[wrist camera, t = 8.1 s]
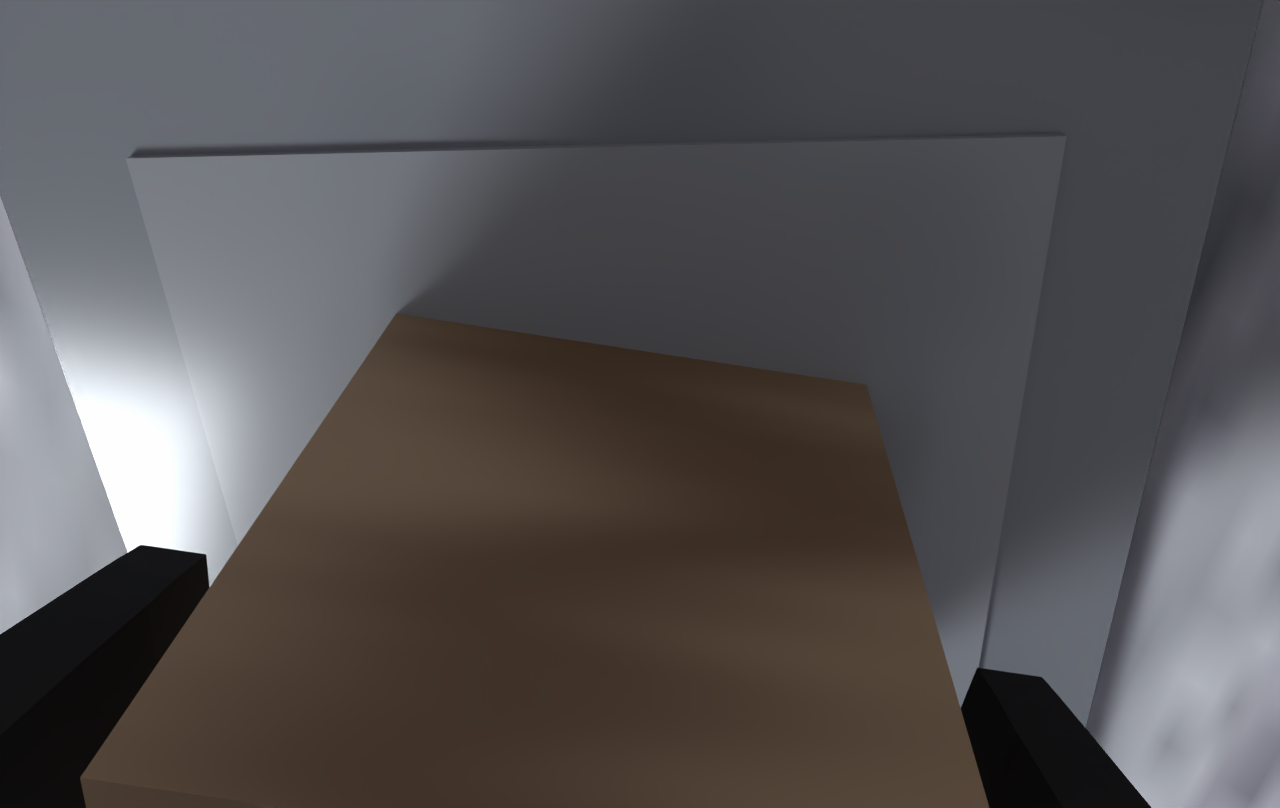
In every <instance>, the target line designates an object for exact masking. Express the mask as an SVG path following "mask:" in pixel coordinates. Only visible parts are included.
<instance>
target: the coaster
mask: <svg viewBox="0 0 1280 808" xmlns="http://www.w3.org/2000/svg"><path fill="white" fill-rule="evenodd" d="M1262 4H1263V0H0V196H1V199H2V202H3V204H4V207H5V210H6V213H7V216H8V218H9V221H10V224H11V227H12V230H13V232H14V235H15V238H16V241H17V244H18V246H19V249H20V252H21V255H22V258H23V260H24V263H25V266H26V269H27V272H28V274H29V277H30V280H31V283H32V286H33V288H34V291H35V294H36V297H37V300H38V302H39V305H40V308H41V311H42V314H43V316H44V319H45V322H46V325H47V328H48V330H49V333H50V336H51V339H52V342H53V344H54V347H55V350H56V353H57V356H58V358H59V361H60V364H61V367H62V370H63V372H64V375H65V378H66V381H67V384H68V386H69V389H70V392H71V395H72V398H73V400H74V403H75V406H76V409H77V412H78V414H79V417H80V420H81V423H82V426H83V428H84V431H85V434H86V437H87V440H88V442H89V445H90V448H91V451H92V454H93V456H94V459H95V462H96V465H97V468H98V470H99V473H100V476H101V479H102V482H103V484H104V487H105V490H106V493H107V496H108V498H109V501H110V504H111V507H112V510H113V512H114V515H115V518H116V521H117V524H118V526H119V529H120V532H121V535H122V538H123V540H124V543H125V546H126V549H127V552H130V551H131V550H133V549H135V548H136V547H138V546H140V545H146V546H153V547H160V548H167V549H174V550H180V551H187V552H194V553H201V554H206V557H207V567H208V577H209V587H210V586H211V585H212V583H213V582H214V580H215V579H216V577H217V576H218V574H219V573H220V571H221V570H222V568H223V567H224V566H225V564H226V563H227V561H228V560H229V558H230V557H231V555H232V554H233V552H234V551H235V549H236V548H237V546H238V545H239V544H240V542H241V541H242V539H243V538H244V536H245V535H246V533H247V532H248V530H249V529H250V527H251V526H252V524H253V523H254V521H255V520H256V519H257V517H258V516H259V514H260V513H261V511H262V510H263V508H264V507H265V505H266V504H267V502H268V501H269V499H270V498H271V496H272V495H273V494H274V492H275V491H276V489H277V488H278V486H279V485H280V483H281V482H282V480H283V479H284V477H285V476H286V474H287V473H288V472H289V470H290V469H291V467H292V466H293V464H294V463H295V461H296V460H297V458H298V457H299V455H300V454H301V452H302V451H303V449H304V448H305V447H306V445H307V444H308V442H309V441H310V439H311V438H312V436H313V435H314V433H315V432H316V430H317V429H318V427H319V426H320V424H321V423H322V422H323V420H324V419H325V417H326V416H327V414H328V413H329V411H330V410H331V408H332V407H333V405H334V404H335V402H336V401H337V400H338V398H339V397H340V395H341V394H342V392H343V391H344V389H345V388H346V386H347V385H348V383H349V382H350V380H351V379H352V377H353V376H354V375H355V373H356V372H357V370H358V369H359V367H360V366H361V364H362V363H363V361H364V360H365V358H366V357H367V355H368V354H369V353H370V351H371V350H372V348H373V347H374V345H375V344H376V342H377V341H378V339H379V338H380V336H381V335H382V333H383V332H384V330H385V329H386V328H387V326H388V325H389V323H390V322H391V320H392V319H393V317H394V316H395V314H402V315H409V316H415V317H422V318H428V319H435V320H442V321H448V322H455V323H461V324H468V325H475V326H481V327H488V328H494V329H501V330H508V331H514V332H521V333H527V334H534V335H541V336H547V337H554V338H560V339H567V340H574V341H580V342H587V343H593V344H600V345H607V346H613V347H620V348H626V349H633V350H640V351H646V352H653V353H660V354H666V355H673V356H679V357H686V358H693V359H699V360H706V361H712V362H719V363H726V364H732V365H739V366H745V367H752V368H759V369H765V370H772V371H778V372H785V373H792V374H798V375H805V376H811V377H818V378H825V379H831V380H838V381H844V382H851V383H858V384H864V385H867V388H868V391H869V395H870V398H871V402H872V405H873V409H874V412H875V415H876V419H877V422H878V426H879V429H880V433H881V436H882V440H883V443H884V446H885V450H886V453H887V457H888V460H889V464H890V467H891V471H892V474H893V477H894V481H895V484H896V488H897V491H898V495H899V498H900V502H901V505H902V508H903V512H904V515H905V519H906V522H907V526H908V529H909V533H910V536H911V539H912V543H913V546H914V550H915V553H916V557H917V560H918V564H919V567H920V570H921V574H922V577H923V581H924V584H925V588H926V591H927V595H928V598H929V601H930V605H931V608H932V612H933V615H934V619H935V622H936V626H937V629H938V632H939V636H940V639H941V643H942V646H943V650H944V653H945V657H946V660H947V663H948V667H949V670H950V674H951V677H952V681H953V684H954V688H955V691H956V694H957V698H958V701H959V705H960V708H961V706H962V704H963V701H964V699H965V696H966V694H967V691H968V689H969V686H970V684H971V682H972V679H973V677H974V674H975V672H976V669H977V668H984V669H991V670H998V671H1005V672H1011V673H1018V674H1025V675H1032V676H1039V677H1042V678H1043V679H1044V680H1045V681H1046V682H1047V683H1048V684H1049V685H1050V687H1051V688H1052V689H1053V690H1054V691H1055V692H1056V693H1057V695H1058V696H1059V697H1060V698H1061V699H1062V700H1063V702H1064V703H1065V704H1066V705H1067V706H1068V708H1069V709H1070V710H1071V711H1072V712H1073V714H1074V715H1075V716H1076V717H1077V718H1078V720H1079V721H1080V722H1081V723H1082V724H1083V726H1084V727H1085V728H1086V725H1087V721H1088V717H1089V712H1090V708H1091V704H1092V700H1093V696H1094V692H1095V688H1096V684H1097V680H1098V676H1099V672H1100V667H1101V663H1102V659H1103V655H1104V651H1105V647H1106V643H1107V639H1108V635H1109V631H1110V626H1111V622H1112V618H1113V614H1114V610H1115V606H1116V602H1117V598H1118V594H1119V590H1120V586H1121V581H1122V577H1123V573H1124V569H1125V565H1126V561H1127V557H1128V553H1129V549H1130V545H1131V540H1132V536H1133V532H1134V528H1135V524H1136V520H1137V516H1138V512H1139V508H1140V504H1141V500H1142V495H1143V491H1144V487H1145V483H1146V479H1147V475H1148V471H1149V467H1150V463H1151V459H1152V454H1153V450H1154V446H1155V442H1156V438H1157V434H1158V430H1159V426H1160V422H1161V418H1162V414H1163V409H1164V405H1165V401H1166V397H1167V393H1168V389H1169V385H1170V381H1171V377H1172V373H1173V368H1174V364H1175V360H1176V356H1177V352H1178V348H1179V344H1180V340H1181V336H1182V332H1183V328H1184V323H1185V319H1186V315H1187V311H1188V307H1189V303H1190V299H1191V295H1192V291H1193V287H1194V282H1195V278H1196V274H1197V270H1198V266H1199V262H1200V258H1201V254H1202V250H1203V246H1204V242H1205V237H1206V233H1207V229H1208V225H1209V221H1210V217H1211V213H1212V209H1213V205H1214V201H1215V196H1216V192H1217V188H1218V184H1219V180H1220V176H1221V172H1222V168H1223V164H1224V160H1225V155H1226V151H1227V147H1228V143H1229V139H1230V135H1231V131H1232V127H1233V123H1234V119H1235V115H1236V110H1237V106H1238V102H1239V98H1240V94H1241V90H1242V86H1243V82H1244V78H1245V74H1246V69H1247V65H1248V61H1249V57H1250V53H1251V49H1252V45H1253V41H1254V37H1255V33H1256V29H1257V24H1258V20H1259V16H1260V12H1261V8H1262Z"/></svg>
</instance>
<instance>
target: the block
mask: <svg viewBox="0 0 1280 808" xmlns="http://www.w3.org/2000/svg"><path fill="white" fill-rule="evenodd" d="M80 780H81V785H82V790H83V795H84V800H85V805H86V808H989V805H988V801H987V798H986V794H985V791H984V787H983V784H982V781H981V777H980V774H979V770H978V767H977V763H976V760H975V756H974V753H973V750H972V746H971V743H970V739H969V736H968V732H967V729H966V725H965V722H964V719H963V715H962V712H961V708H960V705H959V701H958V698H957V694H956V691H955V688H954V684H953V681H952V677H951V674H950V670H949V667H948V663H947V660H946V657H945V653H944V650H943V646H942V643H941V639H940V636H939V632H938V629H937V626H936V622H935V619H934V615H933V612H932V608H931V605H930V601H929V598H928V595H927V591H926V588H925V584H924V581H923V577H922V574H921V570H920V567H919V564H918V560H917V557H916V553H915V550H914V546H913V543H912V539H911V536H910V533H909V529H908V526H907V522H906V519H905V515H904V512H903V508H902V505H901V502H900V498H899V495H898V491H897V488H896V484H895V481H894V477H893V474H892V471H891V467H890V464H889V460H888V457H887V453H886V450H885V446H884V443H883V440H882V436H881V433H880V429H879V426H878V422H877V419H876V415H875V412H874V409H873V405H872V402H871V398H870V395H869V391H868V388H867V385H864V384H858V383H851V382H844V381H838V380H831V379H825V378H818V377H811V376H805V375H798V374H792V373H785V372H778V371H772V370H765V369H759V368H752V367H745V366H739V365H732V364H726V363H719V362H712V361H706V360H699V359H693V358H686V357H679V356H673V355H666V354H660V353H653V352H646V351H640V350H633V349H626V348H620V347H613V346H607V345H600V344H593V343H587V342H580V341H574V340H567V339H560V338H554V337H547V336H541V335H534V334H527V333H521V332H514V331H508V330H501V329H494V328H488V327H481V326H475V325H468V324H461V323H455V322H448V321H442V320H435V319H428V318H422V317H415V316H409V315H402V314H395V316H394V317H393V319H392V320H391V322H390V323H389V325H388V326H387V328H386V329H385V330H384V332H383V333H382V335H381V336H380V338H379V339H378V341H377V342H376V344H375V345H374V347H373V348H372V350H371V351H370V353H369V354H368V355H367V357H366V358H365V360H364V361H363V363H362V364H361V366H360V367H359V369H358V370H357V372H356V373H355V375H354V376H353V377H352V379H351V380H350V382H349V383H348V385H347V386H346V388H345V389H344V391H343V392H342V394H341V395H340V397H339V398H338V400H337V401H336V402H335V404H334V405H333V407H332V408H331V410H330V411H329V413H328V414H327V416H326V417H325V419H324V420H323V422H322V423H321V424H320V426H319V427H318V429H317V430H316V432H315V433H314V435H313V436H312V438H311V439H310V441H309V442H308V444H307V445H306V447H305V448H304V449H303V451H302V452H301V454H300V455H299V457H298V458H297V460H296V461H295V463H294V464H293V466H292V467H291V469H290V470H289V472H288V473H287V474H286V476H285V477H284V479H283V480H282V482H281V483H280V485H279V486H278V488H277V489H276V491H275V492H274V494H273V495H272V496H271V498H270V499H269V501H268V502H267V504H266V505H265V507H264V508H263V510H262V511H261V513H260V514H259V516H258V517H257V519H256V520H255V521H254V523H253V524H252V526H251V527H250V529H249V530H248V532H247V533H246V535H245V536H244V538H243V539H242V541H241V542H240V544H239V545H238V546H237V548H236V549H235V551H234V552H233V554H232V555H231V557H230V558H229V560H228V561H227V563H226V564H225V566H224V567H223V568H222V570H221V571H220V573H219V574H218V576H217V577H216V579H215V580H214V582H213V583H212V585H211V586H210V588H209V589H208V591H207V592H206V593H205V595H204V596H203V598H202V599H201V601H200V602H199V604H198V605H197V607H196V608H195V610H194V611H193V613H192V614H191V615H190V617H189V618H188V620H187V621H186V623H185V624H184V626H183V627H182V629H181V630H180V632H179V633H178V635H177V636H176V638H175V639H174V640H173V642H172V643H171V645H170V646H169V648H168V649H167V651H166V652H165V654H164V655H163V657H162V658H161V660H160V661H159V663H158V664H157V665H156V667H155V668H154V670H153V671H152V673H151V674H150V676H149V677H148V679H147V680H146V682H145V683H144V685H143V686H142V687H141V689H140V690H139V692H138V693H137V695H136V696H135V698H134V699H133V701H132V702H131V704H130V705H129V707H128V708H127V710H126V711H125V712H124V714H123V715H122V717H121V718H120V720H119V721H118V723H117V724H116V726H115V727H114V729H113V730H112V732H111V733H110V734H109V736H108V737H107V739H106V740H105V742H104V743H103V745H102V746H101V748H100V749H99V751H98V752H97V754H96V755H95V757H94V758H93V759H92V761H91V762H90V764H89V765H88V767H87V768H86V770H85V771H84V773H83V774H82V776H81V777H80Z"/></svg>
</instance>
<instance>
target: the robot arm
mask: <svg viewBox="0 0 1280 808" xmlns="http://www.w3.org/2000/svg"><path fill="white" fill-rule="evenodd" d="M209 588H210V587H209V577H208V567H207V557H206V554H201V553H194V552H187V551H180V550H174V549H167V548H160V547H153V546H146V545H140V546H138V547H136V548H135V549H133V550H131V551H130V552H128V553H126V554H125V555H123V556H121V557H120V558H118V559H116V560H115V561H113V562H112V563H110V564H109V565H107V566H105V567H104V568H102V569H101V570H99V571H98V572H96V573H94V574H93V575H91V576H90V577H88V578H87V579H85V580H84V581H82V582H81V583H79V584H77V585H76V586H74V587H73V588H71V589H70V590H68V591H67V592H65V593H64V594H62V595H60V596H59V597H57V598H56V599H54V600H53V601H51V602H50V603H48V604H47V605H45V606H44V607H42V608H41V609H39V610H37V611H36V612H34V613H33V614H31V615H30V616H28V617H27V618H25V619H24V620H22V621H20V622H19V623H17V624H16V625H14V626H13V627H11V628H10V629H8V630H7V631H5V632H3V633H2V634H0V808H86V805H85V800H84V795H83V790H82V785H81V780H80V777H81V776H82V774H83V773H84V771H85V770H86V768H87V767H88V765H89V764H90V762H91V761H92V759H93V758H94V757H95V755H96V754H97V752H98V751H99V749H100V748H101V746H102V745H103V743H104V742H105V740H106V739H107V737H108V736H109V734H110V733H111V732H112V730H113V729H114V727H115V726H116V724H117V723H118V721H119V720H120V718H121V717H122V715H123V714H124V712H125V711H126V710H127V708H128V707H129V705H130V704H131V702H132V701H133V699H134V698H135V696H136V695H137V693H138V692H139V690H140V689H141V687H142V686H143V685H144V683H145V682H146V680H147V679H148V677H149V676H150V674H151V673H152V671H153V670H154V668H155V667H156V665H157V664H158V663H159V661H160V660H161V658H162V657H163V655H164V654H165V652H166V651H167V649H168V648H169V646H170V645H171V643H172V642H173V640H174V639H175V638H176V636H177V635H178V633H179V632H180V630H181V629H182V627H183V626H184V624H185V623H186V621H187V620H188V618H189V617H190V615H191V614H192V613H193V611H194V610H195V608H196V607H197V605H198V604H199V602H200V601H201V599H202V598H203V596H204V595H205V593H206V592H207V591H208V589H209ZM961 712H962V715H963V719H964V722H965V725H966V729H967V732H968V736H969V739H970V743H971V746H972V750H973V753H974V756H975V760H976V763H977V767H978V770H979V774H980V777H981V781H982V784H983V787H984V791H985V794H986V798H987V801H988V805H989V808H1151V807H1150V805H1149V804H1148V803H1147V802H1146V801H1145V799H1144V798H1143V797H1142V796H1141V795H1140V793H1139V792H1138V791H1137V790H1136V789H1135V787H1134V786H1133V785H1132V784H1131V783H1130V781H1129V780H1128V779H1127V778H1126V777H1125V775H1124V774H1123V773H1122V772H1121V770H1120V769H1119V768H1118V767H1117V766H1116V764H1115V763H1114V762H1113V761H1112V760H1111V758H1110V757H1109V756H1108V755H1107V754H1106V752H1105V751H1104V750H1103V749H1102V747H1101V746H1100V745H1099V744H1098V743H1097V741H1096V740H1095V739H1094V738H1093V737H1092V735H1091V734H1090V733H1089V732H1088V730H1087V729H1086V728H1085V727H1084V726H1083V724H1082V723H1081V722H1080V721H1079V720H1078V718H1077V717H1076V716H1075V715H1074V714H1073V712H1072V711H1071V710H1070V709H1069V708H1068V706H1067V705H1066V704H1065V703H1064V702H1063V700H1062V699H1061V698H1060V697H1059V696H1058V695H1057V693H1056V692H1055V691H1054V690H1053V689H1052V688H1051V687H1050V685H1049V684H1048V683H1047V682H1046V681H1045V680H1044V679H1043V678H1042V677H1039V676H1032V675H1025V674H1018V673H1011V672H1005V671H998V670H991V669H984V668H977V669H976V672H975V674H974V677H973V679H972V682H971V684H970V686H969V689H968V691H967V694H966V696H965V699H964V701H963V704H962V706H961Z"/></svg>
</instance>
